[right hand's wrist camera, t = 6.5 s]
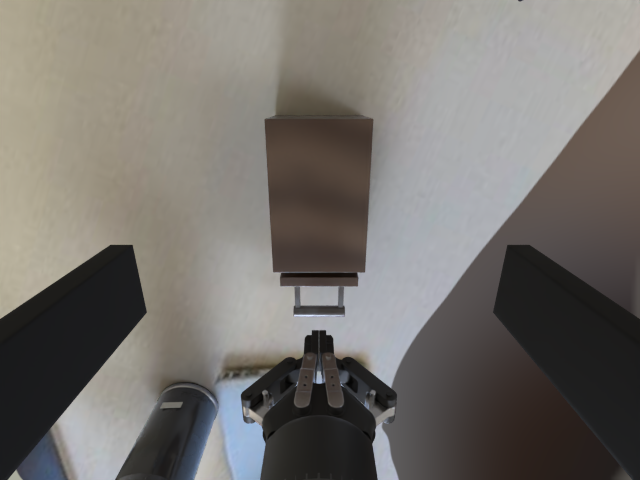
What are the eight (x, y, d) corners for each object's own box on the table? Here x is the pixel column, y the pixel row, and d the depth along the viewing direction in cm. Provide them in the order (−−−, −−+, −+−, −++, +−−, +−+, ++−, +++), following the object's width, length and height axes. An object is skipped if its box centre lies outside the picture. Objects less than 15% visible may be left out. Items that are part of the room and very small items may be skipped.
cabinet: (357, 245, 46) (365, 272, 38) (280, 245, 46) (273, 272, 38) (363, 115, 40) (373, 118, 32) (274, 115, 40) (264, 118, 32)
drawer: (351, 300, 48) (355, 327, 42) (286, 300, 48) (282, 327, 42) (357, 147, 40) (363, 155, 34) (280, 147, 40) (274, 155, 34)
